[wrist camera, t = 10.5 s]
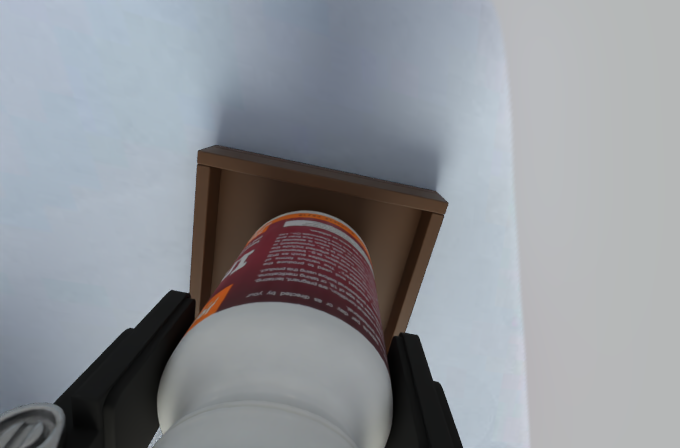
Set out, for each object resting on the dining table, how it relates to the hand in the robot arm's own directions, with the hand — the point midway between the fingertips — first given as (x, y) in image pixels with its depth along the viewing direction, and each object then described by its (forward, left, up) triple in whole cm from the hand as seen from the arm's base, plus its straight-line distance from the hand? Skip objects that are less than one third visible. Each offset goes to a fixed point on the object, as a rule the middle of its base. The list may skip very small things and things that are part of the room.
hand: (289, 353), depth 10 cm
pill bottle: (0, 0, -6) cm, 6 cm away
